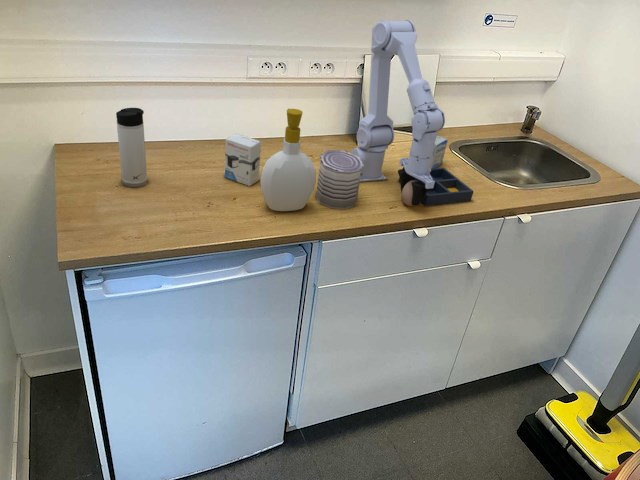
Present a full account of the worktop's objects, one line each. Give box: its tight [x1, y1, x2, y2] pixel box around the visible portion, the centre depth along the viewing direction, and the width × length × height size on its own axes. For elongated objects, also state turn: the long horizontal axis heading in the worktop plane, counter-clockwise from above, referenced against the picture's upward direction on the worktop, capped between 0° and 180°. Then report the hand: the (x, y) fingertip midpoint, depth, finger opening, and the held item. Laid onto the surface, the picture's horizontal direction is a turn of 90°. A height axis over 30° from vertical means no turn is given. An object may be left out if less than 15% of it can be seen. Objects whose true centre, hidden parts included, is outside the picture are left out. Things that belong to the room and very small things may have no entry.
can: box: [315, 149, 364, 210], centre depth 145 cm, size 11×11×12 cm
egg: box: [400, 180, 417, 207], centre depth 148 cm, size 5×5×7 cm
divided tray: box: [398, 167, 475, 207], centre depth 158 cm, size 15×15×3 cm
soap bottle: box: [259, 108, 317, 212], centre depth 135 cm, size 14×9×26 cm, turn 108°
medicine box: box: [429, 135, 449, 169], centre depth 172 cm, size 8×4×9 cm, turn 143°
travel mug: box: [115, 107, 148, 188], centre depth 138 cm, size 6×7×20 cm
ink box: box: [224, 133, 262, 187], centre depth 149 cm, size 8×5×12 cm, turn 62°
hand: (410, 199), depth 149 cm, fingers closed on egg, 5 cm apart
